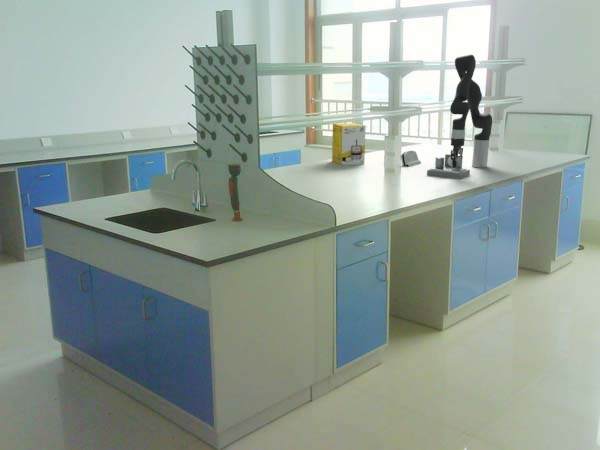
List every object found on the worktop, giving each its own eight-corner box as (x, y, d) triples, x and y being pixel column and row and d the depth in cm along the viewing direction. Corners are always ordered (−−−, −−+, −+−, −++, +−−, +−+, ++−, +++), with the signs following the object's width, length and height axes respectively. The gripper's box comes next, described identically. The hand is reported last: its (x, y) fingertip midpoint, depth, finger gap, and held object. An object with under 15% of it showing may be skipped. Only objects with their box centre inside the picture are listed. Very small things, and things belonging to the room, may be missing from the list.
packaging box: (354, 160, 407) (355, 123, 401) (364, 164, 392) (365, 125, 386) (332, 161, 402) (332, 123, 396) (341, 165, 387) (342, 126, 381)
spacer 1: (437, 166, 358) (437, 156, 357) (445, 167, 356) (445, 157, 354) (433, 168, 354) (434, 158, 353) (441, 168, 352) (442, 158, 350)
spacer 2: (453, 166, 352) (454, 156, 351) (461, 167, 350) (462, 156, 348) (450, 167, 348) (450, 157, 347) (458, 168, 346) (459, 158, 344)
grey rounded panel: (409, 166, 383) (405, 151, 382) (402, 168, 386) (398, 153, 385) (421, 163, 396) (417, 148, 395) (415, 165, 399) (411, 150, 398)
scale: (437, 171, 367) (438, 153, 364) (469, 174, 356) (471, 156, 353) (426, 175, 354) (428, 156, 351) (459, 178, 343) (461, 159, 340)
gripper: (456, 135, 352) (454, 164, 357) (446, 138, 341) (445, 167, 345) (468, 136, 348) (466, 165, 353) (459, 139, 337) (457, 169, 341)
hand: (455, 166), depth 349 cm, fingers closed on spacer 2, 5 cm apart
